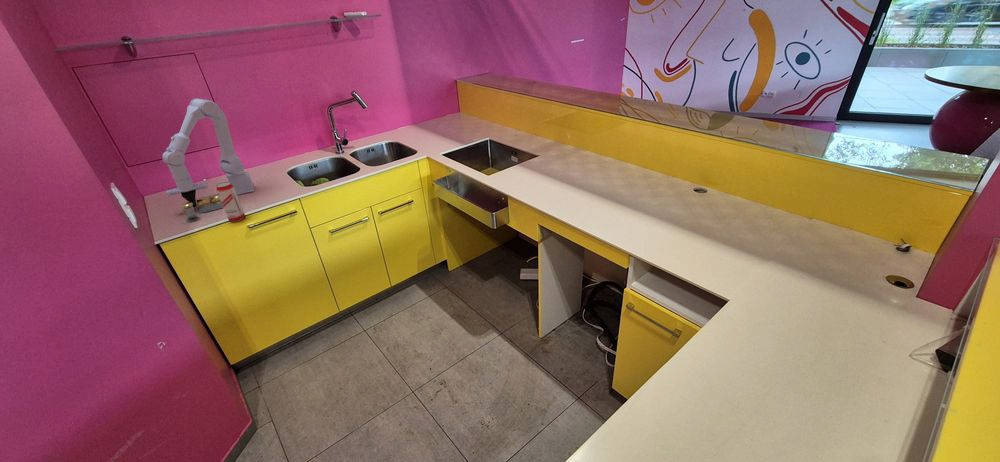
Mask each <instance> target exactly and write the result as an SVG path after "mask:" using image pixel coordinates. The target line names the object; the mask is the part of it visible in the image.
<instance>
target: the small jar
mask: <svg viewBox="0 0 1000 462" xmlns="http://www.w3.org/2000/svg"><path fill="white" fill-rule="evenodd" d="M180 206H181V208H182V209H183V210H184V212H185V215H186V216H187V219H189V220H195V219H197V218H198V217H199V216H198V215H197V213H196V210H195V207H194V208H193V203H192V202H188V201H187V202H184V203H182V204H181V205H180ZM197 216H198V217H197Z"/></svg>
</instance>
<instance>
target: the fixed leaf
mask: <svg viewBox="0 0 1000 462" xmlns="http://www.w3.org/2000/svg"><path fill="white" fill-rule="evenodd" d="M206 197H209V198H210V200H211V202H212V203H213V202H218V201H221V200H220V198H219V196H218V193H216V194H211V195H207V196H202V197H198V199H202V198H206Z"/></svg>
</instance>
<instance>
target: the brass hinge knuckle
mask: <svg viewBox="0 0 1000 462" xmlns="http://www.w3.org/2000/svg"><path fill="white" fill-rule="evenodd" d="M205 197H206V196H205ZM201 198H202V197H201ZM196 204H197V211H198V213H199V214H203V213H207V212H211V211H215V210H218V209H219V210H220V209H224V208H223V205H222V203H221V201H218V202H213V203H212V202H211V200H210V198H209V197H206V198H202V199H199V198H198V199H197V198H196Z"/></svg>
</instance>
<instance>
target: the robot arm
mask: <svg viewBox="0 0 1000 462" xmlns="http://www.w3.org/2000/svg"><path fill="white" fill-rule="evenodd" d="M186 108H187V109H186V114H185V116H184V119H183V121H182V125H181V127H180V130H179V132H178V133H175V134H174V135H173V136H171V137H170V140H171V141H170V143H169V145H168V147H166V149H165V151H164V152H163V153H162V159H161V161H162V162H163V163H165V164H166V165H167V166H168V169H169V171H170V174H171V176H172V178H173V181H174V182H175V184H176V186H177V188H176V187H175V188H173V189H170V190H169V189H168V190H166V194H167V196H168V197H171V196H174V195H179V194H181V197H182V198H184V200H186V201H187V202H192V203H193V208H194V209H195V208H198V204H197V201H196V200H197V198H196V194H197V191H198V190H204V189H208V185H207V183H206V182H203V183H195V184H194V181H193V180H192V178H191V175H190V173H189V171H188V168H187V167H186V165H185V162H186V156H185V154H186V151H187V149H188V147H189V145H190V143H191V138H190V134H191V133H192V132H193V129H194V127H195V126H196V124H197V122H198V121H200V120H202V119H205V118H208V119H210V120H211V121H212V124H213V127H214V128H213V129H214V131H215V135H216V138H217V142H218V143H217V144H218V145H219V150H220V154H221V155H220V157H219V159H220V164H219V168H220V170H221V171H222V172H223V173H225V176H226V179H227V182H230V183H231V184H232V185H233V186H234V189H235V191H236V194H237V196H240V195H244V194H248V193H252V192H255V187H254V185H255V184H254V182H253V181H252V179H251V175H250V173H249V171H245V166H244V164H243V163H242V162H241V159H240V157H239V156H238V155H237V154H236V152H235V148H234V144H233V139H232V135H231V132H230V128H229V127H230V126H229V124H228V120H227V115H226V114H225V112H223V110H222V109H221V108H220V107H219V105H218V103H216V102H214V101H213V100H209V99H202V98H198V97H197V98H196V97H195V98H193V99H192V100H190V103H189V105H188V106H187V107H186Z"/></svg>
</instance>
